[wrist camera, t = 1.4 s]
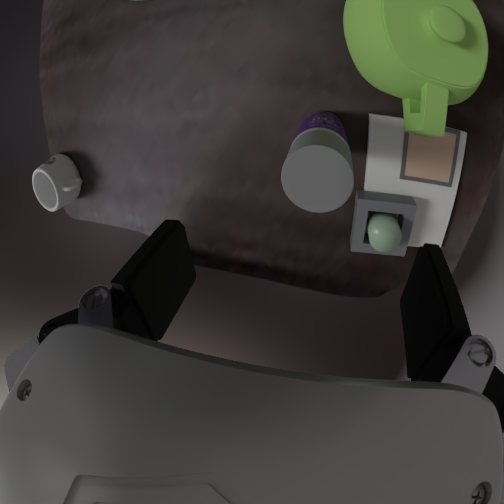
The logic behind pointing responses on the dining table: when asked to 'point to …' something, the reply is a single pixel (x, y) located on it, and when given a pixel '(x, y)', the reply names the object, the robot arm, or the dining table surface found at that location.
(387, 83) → the teapot
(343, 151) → the container
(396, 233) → the button
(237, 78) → the dining table surface
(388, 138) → the picture board
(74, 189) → the mug
